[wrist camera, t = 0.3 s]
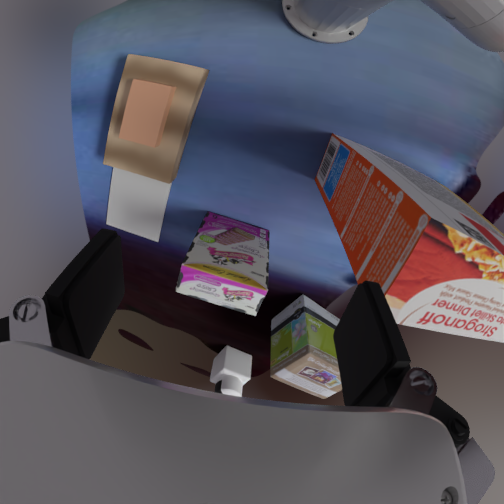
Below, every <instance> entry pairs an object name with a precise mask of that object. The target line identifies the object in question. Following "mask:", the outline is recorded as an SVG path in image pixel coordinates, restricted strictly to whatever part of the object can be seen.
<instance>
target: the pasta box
mask: <svg viewBox="0 0 504 504" xmlns="http://www.w3.org/2000/svg"><path fill="white" fill-rule="evenodd" d="M315 182H316V184H317V186H318V188H319V191H320V193H321V195H322V197H323V199H324V202H325V204H326V206H327V208H328V211H329V213H330V215H331V218H332V220H333V222H334V225H335V227H336V229H337V232H338V234H339V237H340V239H341V241H342V244H343V246H344V249H345V251H346V254H347V256H348V259H349V261H350V264H351V267H352V269H353V272H354V274H355V277H356V280H357V283H358V285H359V284H360V283H363V282H364V281H366V280H367V281H372V282H377V283H379V284H380V286H381V289H382V291H383V293H384V295H385V298H386V300H387V302H388V305H389V307H390V309H391V312H392V314H393V316H394V319H395V321H396V323H397V324H402V325H407V326H412V327H417V328H422V329H427V330H433V331H438V332H444V333H450V334H455V335H460V336H466V337H473V338H478V339H484V340H490V341H497V342H503V343H504V234H502V233H501V232H500V231H499V230H498V229H497V228H496V227H495V226H494V225H493V224H491V223H490V222H489V221H488V220H487V219H486V218H484V217H483V216H482V215H481V214H480V213H478V212H477V211H476V210H475V209H474V208H472V207H471V206H470V205H469V204H467V203H466V202H465V201H464V200H462V199H461V198H460V197H458V196H457V195H456V194H454V193H453V192H452V191H450V190H449V189H448V188H446V187H445V186H444V185H442V184H440V183H438V182H437V181H435V180H433V179H431V178H429V177H427V176H425V175H424V174H422V173H420V172H418V171H416V170H414V169H412V168H410V167H408V166H406V165H404V164H402V163H400V162H398V161H396V160H394V159H392V158H390V157H387V156H385V155H383V154H381V153H379V152H377V151H374V150H372V149H370V148H367V147H365V146H363V145H360V144H358V143H356V142H353V141H351V140H348V139H346V138H343V137H341V136H338V135H336V134H333V133H332V135H331V138H330V141H329V143H328V146H327V149H326V151H325V154H324V157H323V159H322V162H321V165H320V167H319V170H318V173H317V175H316V178H315Z"/></svg>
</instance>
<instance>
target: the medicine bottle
mask: <svg viewBox="0 0 504 504" xmlns="http://www.w3.org/2000/svg"><path fill="white" fill-rule="evenodd" d="M251 367H252V356H251V355H249V354H247V353H244V352H242V351H240V350H237V349H235V348H232V347H230V346H228V345H227V346H225V347H224V349H223V350H222V351H221V352H220V353H219V354H218V355H217V356H216V357H215V358H214V361H213V366H212V372H211V377H210V381H211V382H213V383H215V384H216V386H215V393H221V394H227V395H233V396H239V397H242V386H243V385H244V384H245V383H246V382H247V381H248V380H250V379H251Z"/></svg>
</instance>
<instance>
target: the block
mask: <svg viewBox="0 0 504 504" xmlns="http://www.w3.org/2000/svg"><path fill="white" fill-rule="evenodd" d="M175 90H176V86H171V85H167V84H163V83H158V82H153V81H148V80H143V79H133V81H132V85H131V88H130V92H129V96H128V100H127V103H126V108H125V112H124V116H123V120H122V125H121V129H120V134H119V138H120V139H124V140H128V141H132V142H136V143H139V144H143V145H147V146H150V147H154V148H155V147H157V146H159V145H160V142H161V138H162V134H163V131H164V127H165V123H166V120H167V116H168V113H169V109H170V106H171V103H172V99H173V96H174V93H175Z"/></svg>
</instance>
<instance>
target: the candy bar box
mask: <svg viewBox="0 0 504 504" xmlns="http://www.w3.org/2000/svg"><path fill="white" fill-rule="evenodd" d="M268 267H269V230H266V229H262V228H259V227H256V226H253V225H250V224H247V223H243V222H240V221H237V220H234V219H231V218H228V217H224V216H221V215H218V214H215V213H212V212H209V211H208V212H207V214H206V215H205V218H204V219H203V222H202V223H201V226H200V228H199V230H198V231H197V234H196V236H195V238H194V240H193V242H192V244H191V246H190V248H189V251H188V253H187V255H186V257H185V259H184V261H183V263H182V267H181V270H180V274H179V278H178V282H177V287H176V292H178V293H181V294H185V295H188V296H191V297H194V298H197V299H200V300H203V301H207V302H210V303H213V304H216V305H220V306H223V307H226V308H230V309H233V310H236V311H240V312H243V313H247V314H250V315H254V316H256V314H257V312H258V310H259V307H260V305H261V303H262V301H263V299H264V298H265V295H266V293H267V291H268Z"/></svg>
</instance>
